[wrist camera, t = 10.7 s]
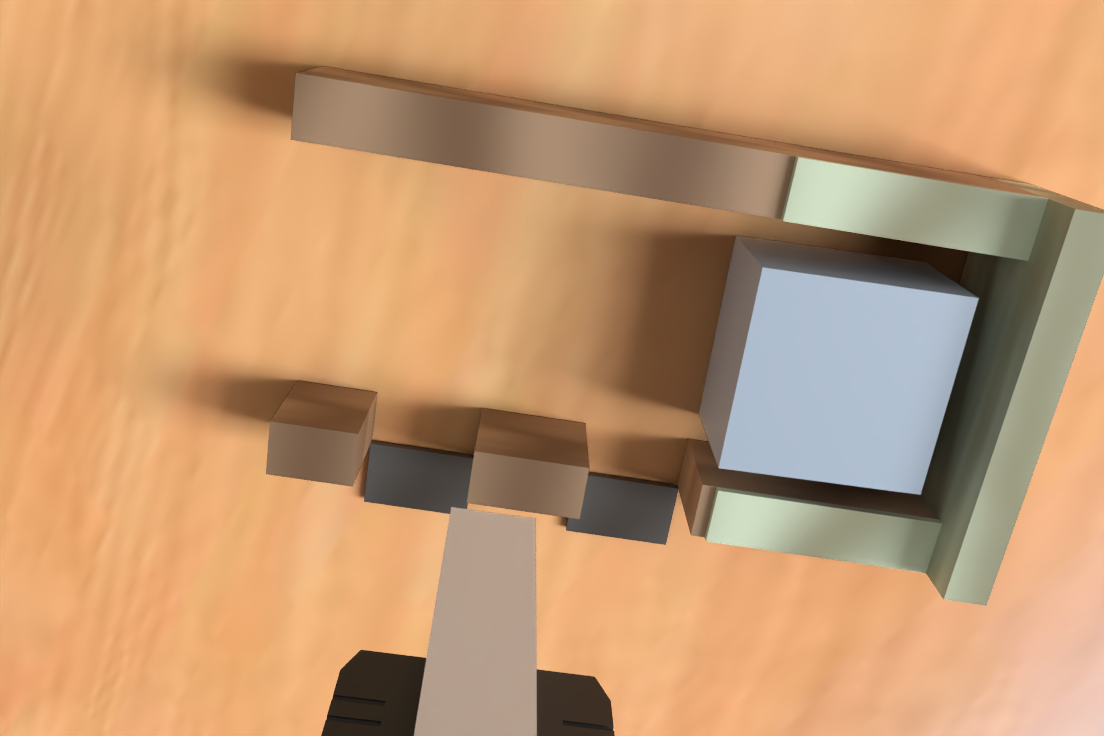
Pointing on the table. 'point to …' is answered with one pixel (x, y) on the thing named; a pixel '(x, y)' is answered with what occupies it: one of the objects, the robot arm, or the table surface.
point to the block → (832, 364)
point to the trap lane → (706, 491)
